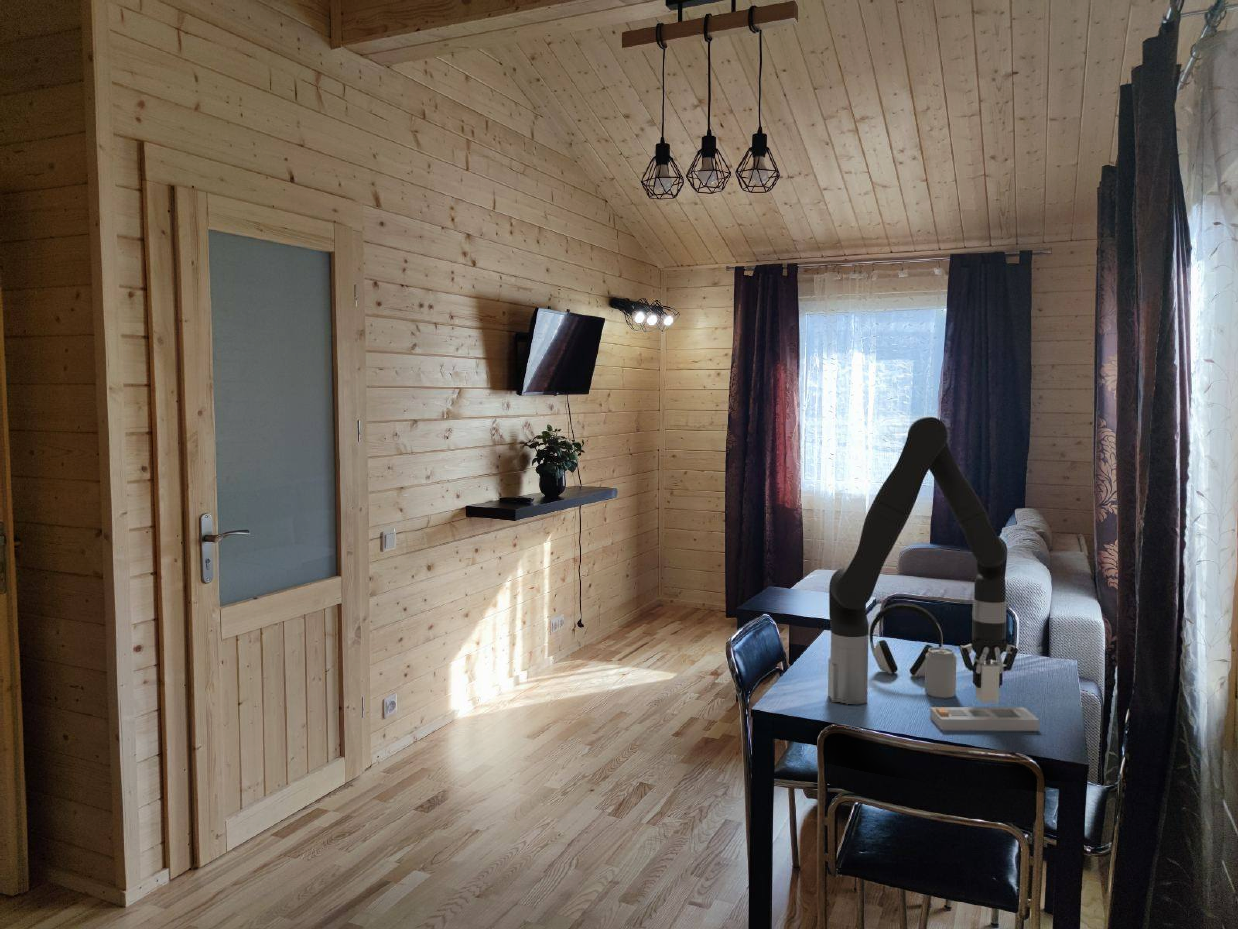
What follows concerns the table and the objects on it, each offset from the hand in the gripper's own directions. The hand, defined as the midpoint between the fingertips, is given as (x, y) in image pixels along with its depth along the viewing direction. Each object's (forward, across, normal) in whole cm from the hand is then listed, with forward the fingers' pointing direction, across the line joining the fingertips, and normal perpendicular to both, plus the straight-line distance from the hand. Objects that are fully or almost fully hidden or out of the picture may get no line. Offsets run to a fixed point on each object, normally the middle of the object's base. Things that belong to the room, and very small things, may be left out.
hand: (987, 686), depth 219 cm
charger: (+3, 0, 0) cm, 3 cm away
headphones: (+6, -12, +27) cm, 30 cm away
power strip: (+6, -5, -11) cm, 13 cm away
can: (+6, -8, +10) cm, 14 cm away
